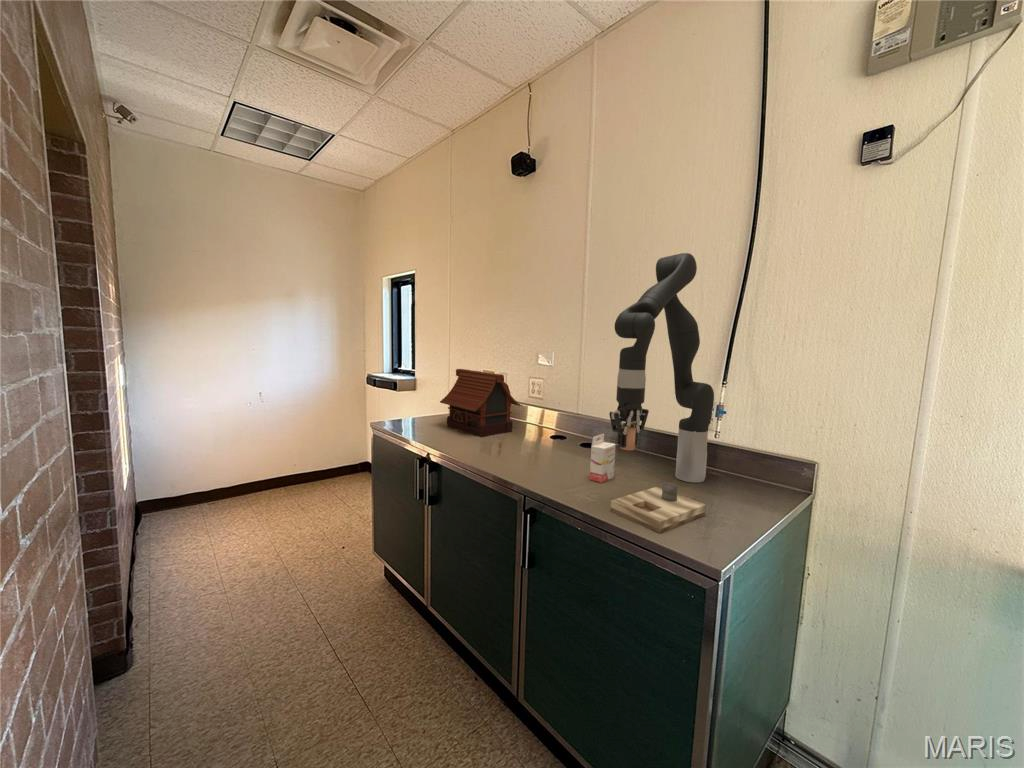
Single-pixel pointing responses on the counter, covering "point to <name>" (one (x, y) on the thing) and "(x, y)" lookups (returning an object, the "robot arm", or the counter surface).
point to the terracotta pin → (630, 438)
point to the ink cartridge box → (602, 460)
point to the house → (479, 403)
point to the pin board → (658, 508)
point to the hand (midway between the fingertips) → (627, 445)
